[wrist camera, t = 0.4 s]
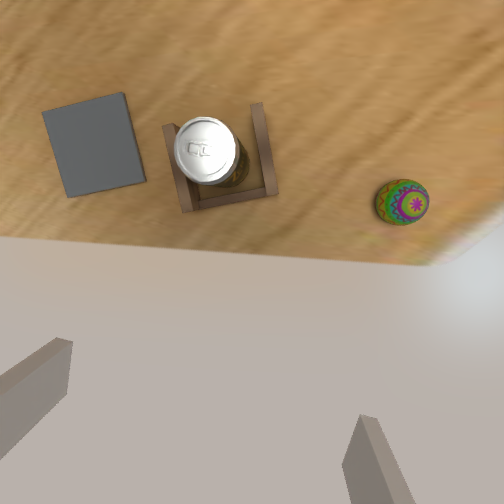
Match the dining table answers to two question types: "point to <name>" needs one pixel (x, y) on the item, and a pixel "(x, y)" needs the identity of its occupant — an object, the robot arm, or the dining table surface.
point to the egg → (402, 202)
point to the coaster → (95, 145)
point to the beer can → (210, 153)
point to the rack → (193, 202)
